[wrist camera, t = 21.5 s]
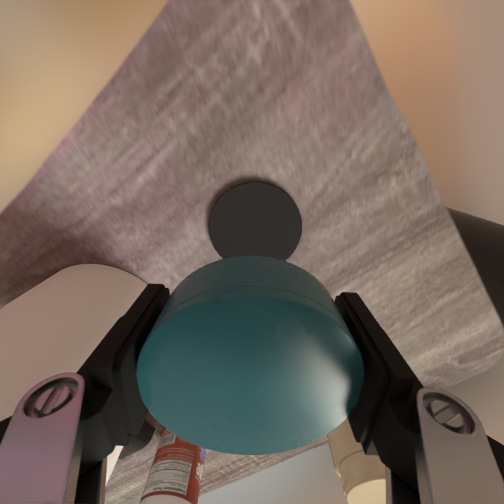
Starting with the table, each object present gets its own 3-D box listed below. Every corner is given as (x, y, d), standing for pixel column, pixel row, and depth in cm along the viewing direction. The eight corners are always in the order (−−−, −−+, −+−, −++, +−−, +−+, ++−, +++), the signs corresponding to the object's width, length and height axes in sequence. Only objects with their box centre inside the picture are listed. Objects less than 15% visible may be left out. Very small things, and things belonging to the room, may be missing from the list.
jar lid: (297, 408, 11) (308, 470, 9) (149, 375, 10) (122, 435, 8) (372, 286, 8) (413, 334, 6) (182, 229, 8) (155, 261, 5)
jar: (368, 367, 28) (425, 477, 18) (360, 401, 30) (406, 514, 21) (317, 367, 28) (348, 477, 19) (313, 401, 30) (338, 513, 21)
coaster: (307, 183, 20) (308, 184, 19) (295, 271, 23) (296, 273, 22) (208, 178, 20) (207, 179, 19) (210, 267, 23) (209, 269, 22)
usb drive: (129, 442, 34) (119, 465, 31) (56, 394, 30) (38, 417, 28) (155, 428, 33) (147, 452, 30) (83, 377, 29) (66, 399, 26)
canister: (69, 370, 28) (-270, 776, 10) (16, 268, 23) (-912, 738, 5) (182, 365, 28) (40, 788, 9) (155, 259, 22) (-292, 760, 4)
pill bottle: (202, 452, 35) (180, 578, 24) (159, 443, 34) (118, 570, 24) (213, 426, 32) (193, 554, 22) (167, 416, 32) (125, 544, 21)
